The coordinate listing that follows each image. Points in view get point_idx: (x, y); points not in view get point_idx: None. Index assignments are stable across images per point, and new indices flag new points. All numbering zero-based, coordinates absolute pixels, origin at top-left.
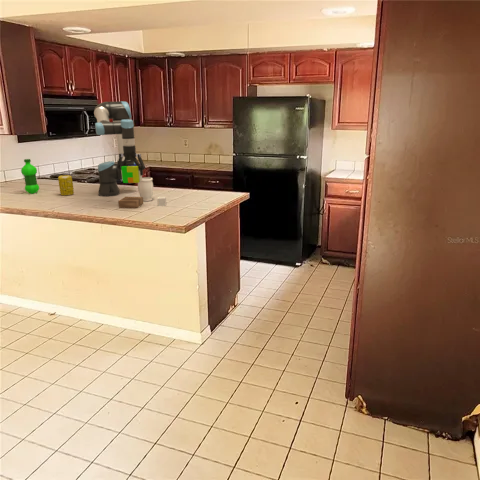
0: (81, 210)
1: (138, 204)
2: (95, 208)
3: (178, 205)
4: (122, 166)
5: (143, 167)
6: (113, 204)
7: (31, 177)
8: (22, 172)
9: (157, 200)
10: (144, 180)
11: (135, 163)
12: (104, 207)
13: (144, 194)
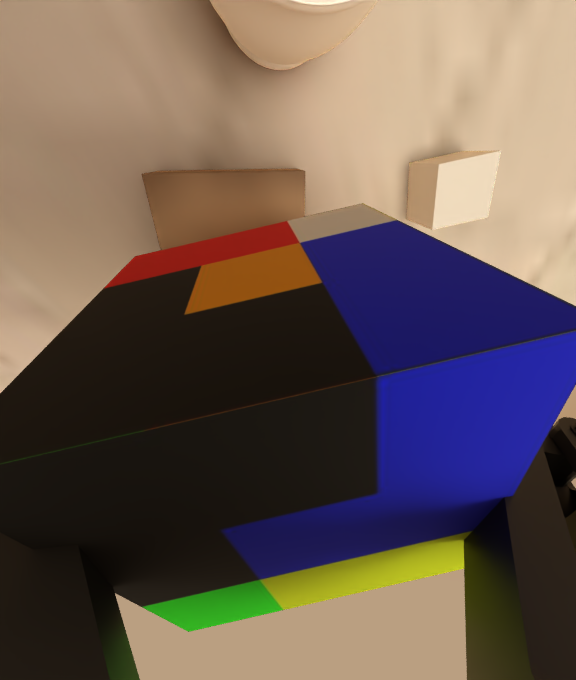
0: (15, 373)
1: None
2: (54, 328)
3: (535, 189)
4: (176, 616)
5: (567, 498)
6: (83, 217)
7: None
8: None
9: (425, 226)
10: (354, 1)
11: (474, 622)
12: (89, 301)
13: (293, 63)
